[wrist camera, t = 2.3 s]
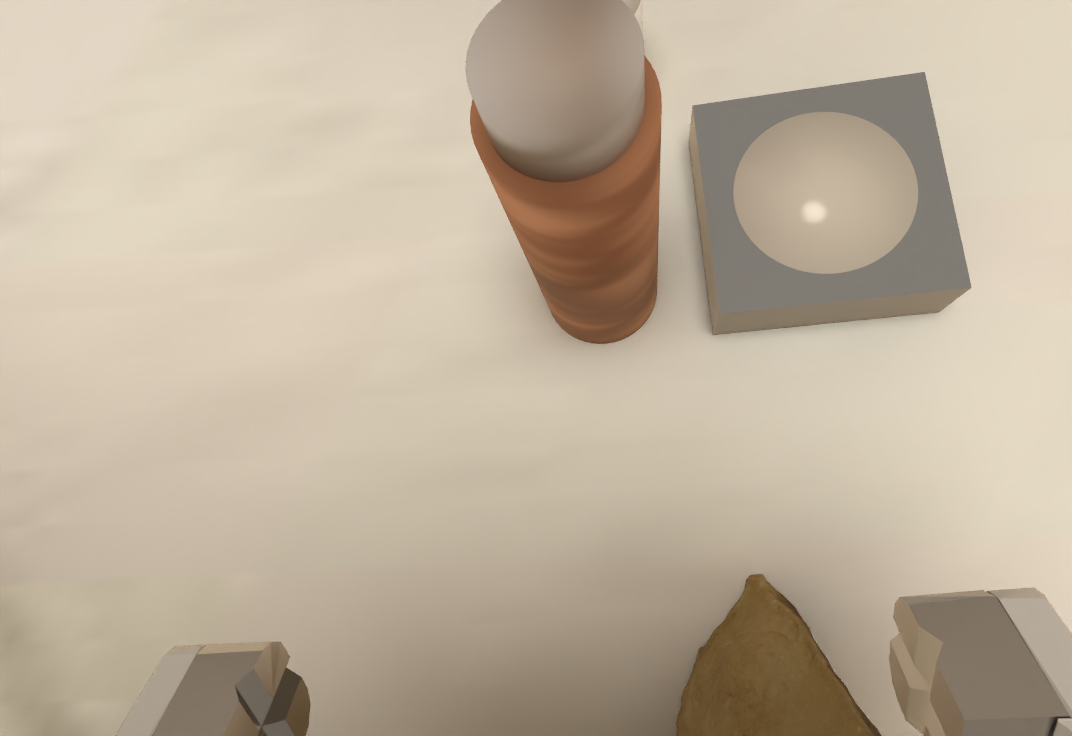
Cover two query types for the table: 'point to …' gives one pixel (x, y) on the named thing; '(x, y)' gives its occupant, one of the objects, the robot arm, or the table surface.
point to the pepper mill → (573, 154)
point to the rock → (767, 677)
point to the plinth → (825, 206)
